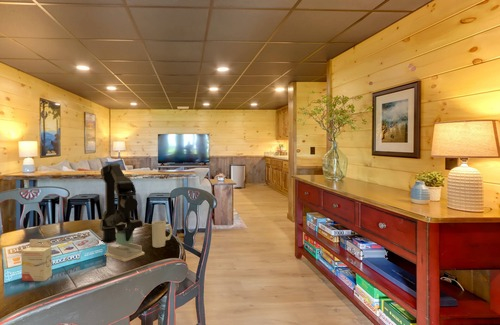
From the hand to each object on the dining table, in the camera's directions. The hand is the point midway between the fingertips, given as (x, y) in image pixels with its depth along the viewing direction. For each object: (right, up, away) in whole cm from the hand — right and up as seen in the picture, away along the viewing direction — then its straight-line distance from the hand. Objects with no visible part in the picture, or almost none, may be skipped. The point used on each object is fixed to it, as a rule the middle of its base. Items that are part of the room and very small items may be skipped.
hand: (124, 240), depth 142 cm
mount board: (0, -7, 0) cm, 7 cm away
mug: (+13, -7, +14) cm, 21 cm away
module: (0, -1, 0) cm, 1 cm away
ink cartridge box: (-23, -8, -26) cm, 35 cm away
